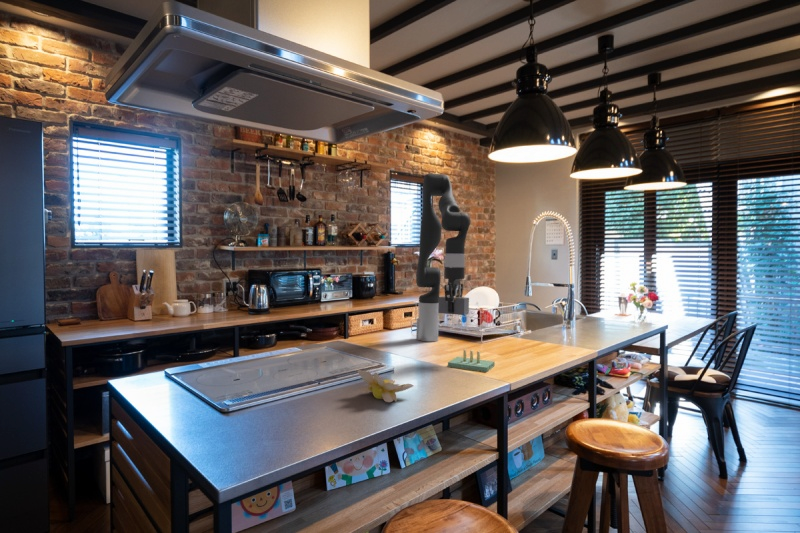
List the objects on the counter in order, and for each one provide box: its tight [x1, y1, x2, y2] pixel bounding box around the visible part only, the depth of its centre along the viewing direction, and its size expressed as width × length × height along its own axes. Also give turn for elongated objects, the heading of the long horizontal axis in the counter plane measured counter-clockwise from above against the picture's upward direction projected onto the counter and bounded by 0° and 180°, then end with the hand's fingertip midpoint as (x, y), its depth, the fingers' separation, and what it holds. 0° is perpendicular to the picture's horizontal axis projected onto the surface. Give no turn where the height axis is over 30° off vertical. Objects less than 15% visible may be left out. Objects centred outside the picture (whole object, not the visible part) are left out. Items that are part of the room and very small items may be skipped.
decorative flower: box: [357, 369, 415, 403], centre depth 122 cm, size 15×11×10 cm
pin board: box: [447, 349, 495, 373], centre depth 159 cm, size 14×10×6 cm
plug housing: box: [438, 295, 470, 316], centre depth 166 cm, size 10×5×6 cm, turn 63°
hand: (453, 311), depth 166 cm, fingers closed on plug housing, 5 cm apart
